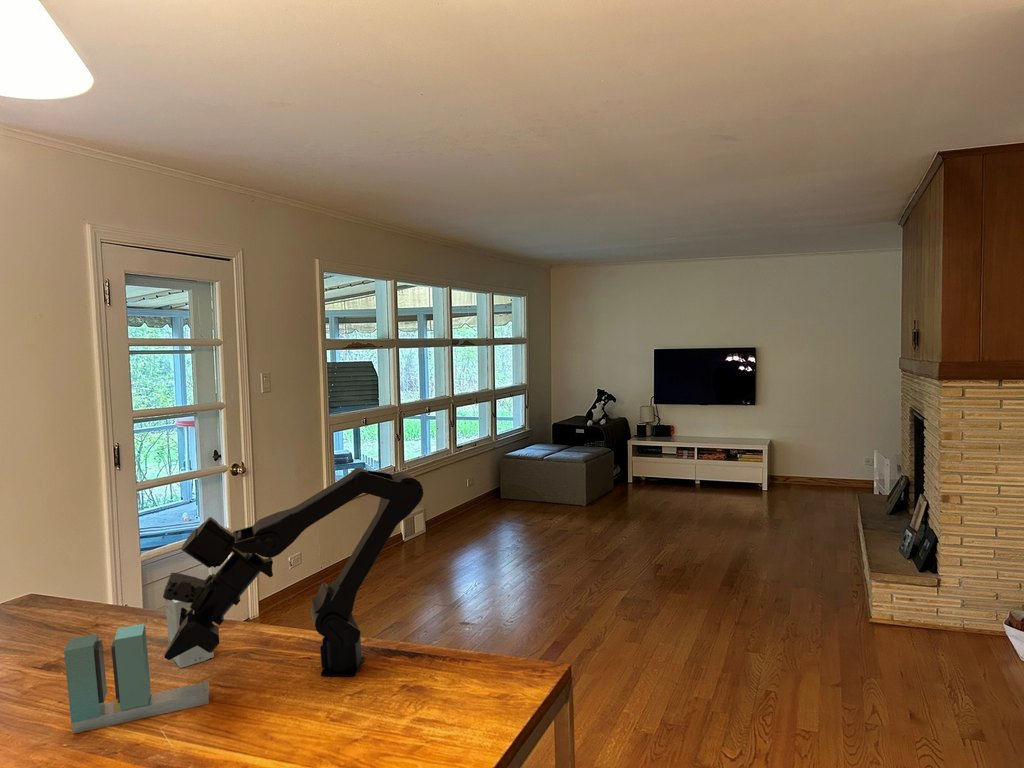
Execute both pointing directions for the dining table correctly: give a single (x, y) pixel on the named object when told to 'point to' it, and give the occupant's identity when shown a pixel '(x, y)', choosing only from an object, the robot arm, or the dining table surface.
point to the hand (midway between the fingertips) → (166, 657)
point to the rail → (91, 691)
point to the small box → (173, 619)
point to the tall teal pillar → (131, 667)
